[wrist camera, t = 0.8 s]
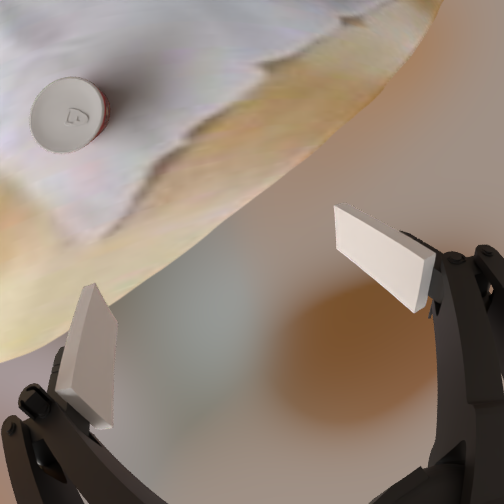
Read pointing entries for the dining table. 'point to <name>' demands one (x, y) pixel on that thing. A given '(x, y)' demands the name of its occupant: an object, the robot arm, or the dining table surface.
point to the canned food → (68, 115)
